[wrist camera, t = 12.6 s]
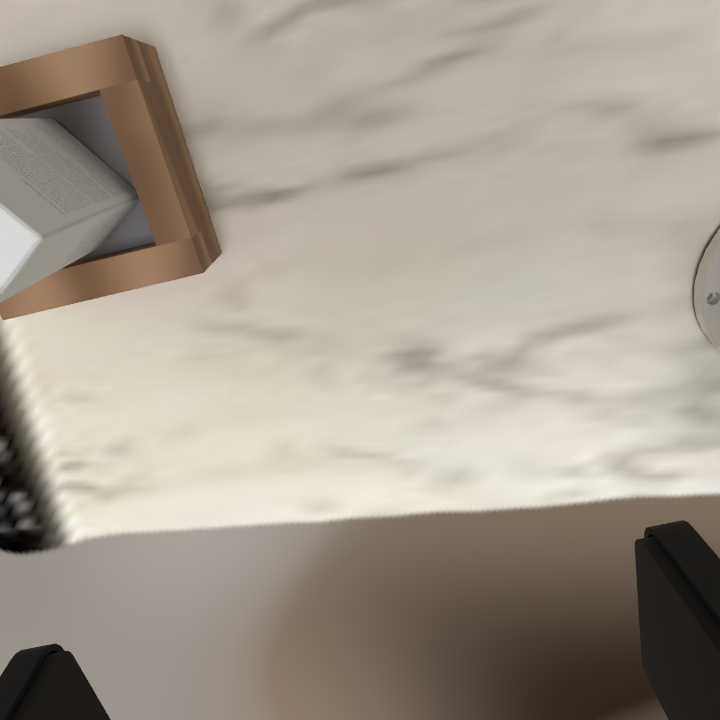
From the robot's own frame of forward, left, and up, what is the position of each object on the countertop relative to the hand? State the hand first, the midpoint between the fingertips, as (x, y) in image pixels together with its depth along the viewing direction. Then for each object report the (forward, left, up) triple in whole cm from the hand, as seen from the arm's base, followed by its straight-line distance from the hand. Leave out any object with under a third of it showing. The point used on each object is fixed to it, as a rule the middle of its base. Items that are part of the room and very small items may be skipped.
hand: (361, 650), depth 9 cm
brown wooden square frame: (+14, -8, -30) cm, 34 cm away
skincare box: (+14, -8, -27) cm, 32 cm away
